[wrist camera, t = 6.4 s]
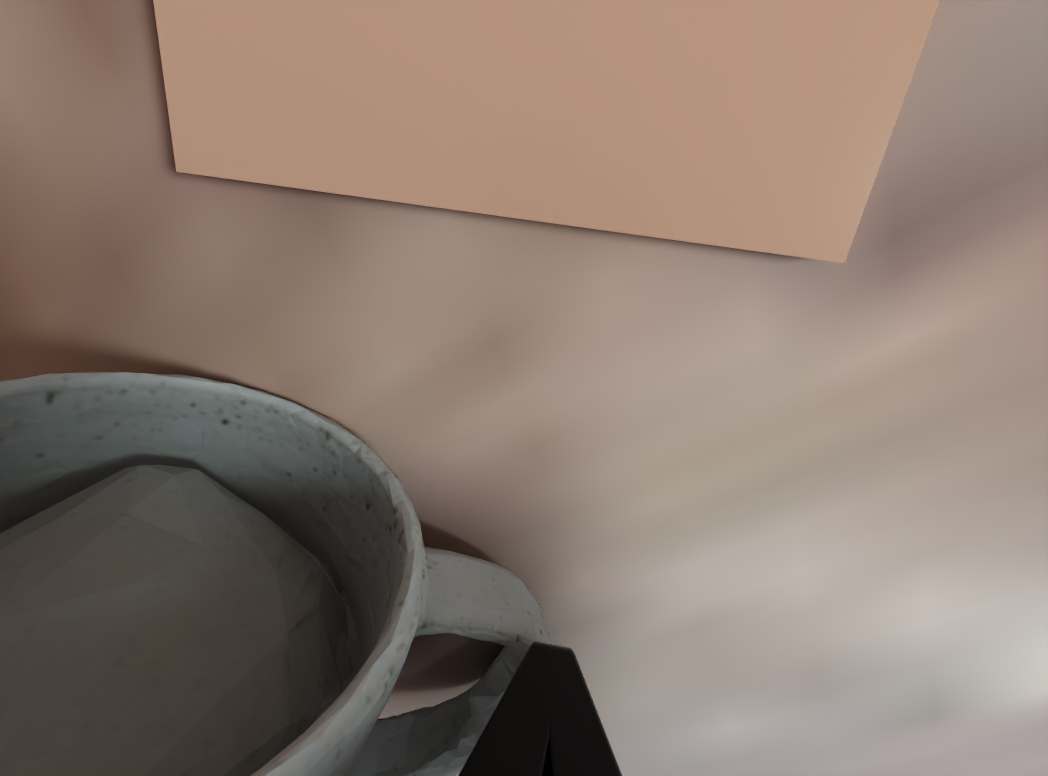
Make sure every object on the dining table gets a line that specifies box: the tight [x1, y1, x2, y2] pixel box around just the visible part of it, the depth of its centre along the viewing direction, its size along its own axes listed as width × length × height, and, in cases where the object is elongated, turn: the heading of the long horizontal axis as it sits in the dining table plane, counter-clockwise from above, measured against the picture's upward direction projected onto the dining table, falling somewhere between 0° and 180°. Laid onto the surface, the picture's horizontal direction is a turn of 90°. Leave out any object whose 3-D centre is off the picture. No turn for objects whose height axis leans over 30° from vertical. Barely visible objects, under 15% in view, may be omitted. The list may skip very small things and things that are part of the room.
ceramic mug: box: [0, 372, 552, 776], centre depth 8 cm, size 11×8×8 cm
